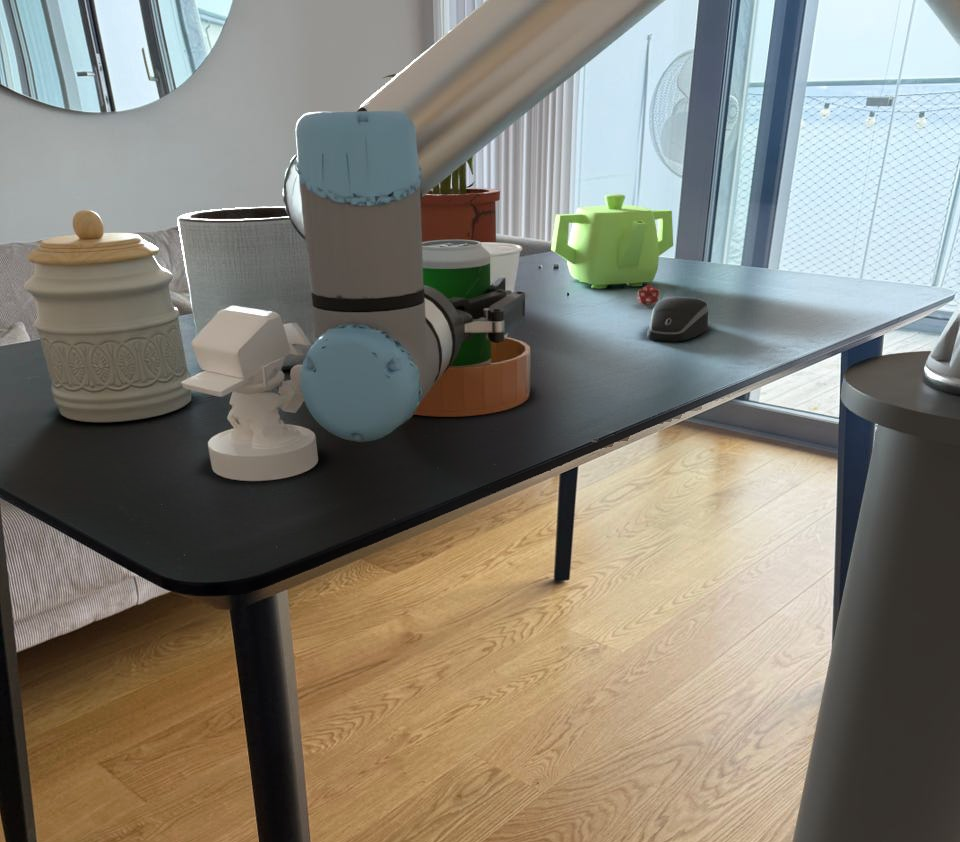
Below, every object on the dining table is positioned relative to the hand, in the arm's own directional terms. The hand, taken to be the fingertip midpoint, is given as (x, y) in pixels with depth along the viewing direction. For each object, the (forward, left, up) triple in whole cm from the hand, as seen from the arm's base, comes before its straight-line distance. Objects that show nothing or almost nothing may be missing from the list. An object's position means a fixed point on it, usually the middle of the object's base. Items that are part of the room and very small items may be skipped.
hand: (461, 291), depth 91 cm
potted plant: (+35, -31, -9) cm, 48 cm away
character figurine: (-6, +29, -9) cm, 31 cm away
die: (+10, -47, -9) cm, 49 cm away
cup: (+11, -14, -9) cm, 20 cm away
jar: (+19, +28, -9) cm, 35 cm away
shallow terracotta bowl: (-3, +4, -9) cm, 10 cm away
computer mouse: (-3, -35, -9) cm, 36 cm away
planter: (+25, +7, -9) cm, 28 cm away
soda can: (-3, +4, -7) cm, 9 cm away
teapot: (+25, -59, -9) cm, 65 cm away
